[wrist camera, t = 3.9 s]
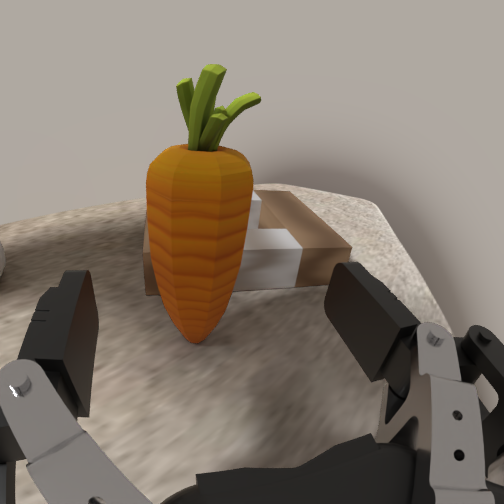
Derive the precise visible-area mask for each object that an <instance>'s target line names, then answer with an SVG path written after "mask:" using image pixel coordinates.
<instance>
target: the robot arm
mask: <svg viewBox="0 0 504 504" xmlns="http://www.w3.org/2000/svg"><path fill="white" fill-rule="evenodd" d="M324 308H325V313H326V315H327V317H328V318H329V320H330V321H331V323H332V324H333V326H334V327H335V329H336V330H337V332H338V333H339V335H340V336H341V338H342V339H343V341H344V342H345V344H346V345H347V346H348V348H349V349H350V351H351V352H352V354H353V355H354V357H355V358H356V360H357V361H358V363H359V364H360V366H361V367H362V369H363V370H364V372H365V374H366V375H367V377H368V378H369V380H370V381H371V382H374V381H377V380H381V379H384V378H385V379H386V381H387V382H386V384H385V385H384V387H383V394H382V403H381V411H380V418H379V425H378V431H377V434H376V437H375V439H374V438H373V436H372V434H371V433H370V434H367V435H364V436H362V437H359V438H356V439H353V440H350V441H347V442H344V443H341V444H338V445H335V446H333V447H332V448H330V449H329V450H327V451H325V452H324V453H322V454H320V455H319V456H317V457H315V458H314V459H312V460H310V461H308V462H307V463H305V464H303V465H301V466H299V467H296V468H239V469H233V470H226V471H219V472H211V473H202V474H196V485H193V486H190V487H187V488H185V489H183V490H181V491H179V492H176V493H175V494H173V495H172V496H170V497H168V498H167V499H165V500H164V501H163V502H162V503H160V504H504V345H503V344H502V343H501V342H500V341H499V339H498V338H497V337H496V336H495V335H494V334H493V333H492V332H491V331H489V330H488V329H486V328H485V327H482V326H478V325H474V326H471V327H470V328H469V330H468V332H467V333H466V335H465V337H464V338H459V337H452V335H451V334H450V333H449V332H448V331H447V330H446V329H445V328H443V327H442V326H440V325H438V324H435V323H430V322H425V323H422V324H421V323H420V321H419V320H418V319H417V318H416V317H415V316H414V315H413V314H412V313H411V312H410V311H409V310H408V309H407V308H406V306H405V305H404V304H403V303H402V302H401V301H400V300H397V297H396V296H395V295H394V294H393V293H391V292H390V290H389V289H388V288H387V287H386V286H385V285H384V284H383V283H382V282H381V281H379V280H378V279H376V278H375V277H373V276H372V275H371V274H370V273H369V272H368V271H367V270H366V269H365V268H364V267H363V266H362V265H361V264H360V263H358V262H342V263H337V264H336V265H335V267H334V269H333V272H332V276H331V279H330V283H329V286H328V290H327V293H326V296H325V301H324ZM98 330H99V319H98V311H97V306H96V301H95V296H94V291H93V285H92V280H91V275H90V272H89V270H70V271H65V272H64V274H63V277H62V279H61V282H60V284H59V287H50V288H49V289H48V290H47V291H46V292H45V293H44V294H43V295H42V296H41V297H40V299H39V302H38V304H37V307H36V309H35V312H34V314H33V316H32V319H31V322H30V324H29V327H28V330H27V332H26V335H25V338H24V341H23V343H22V346H21V349H20V352H19V355H18V358H17V360H15V361H12V362H10V363H8V364H6V365H5V366H4V367H3V368H2V369H1V370H0V504H15V469H16V461H18V460H24V459H27V461H28V464H27V465H26V467H27V470H28V472H29V474H30V476H31V478H32V479H33V481H34V483H35V484H36V486H37V488H38V489H39V491H40V492H41V494H42V495H43V497H44V498H45V500H46V501H47V503H48V504H153V503H152V502H150V501H149V500H148V499H147V498H146V497H145V496H144V495H143V494H142V493H141V492H140V491H139V490H138V489H137V488H136V487H135V486H134V485H133V484H132V483H131V482H130V481H129V480H128V479H127V478H126V477H125V476H124V474H123V473H122V472H121V471H120V470H119V469H118V468H117V467H116V466H115V465H114V463H113V462H112V461H111V460H110V459H109V458H108V457H107V455H106V454H105V453H104V452H103V451H102V450H101V448H100V447H99V446H98V445H97V443H96V442H95V441H94V440H93V439H92V437H91V436H90V435H89V434H88V433H87V432H86V431H84V430H83V429H82V428H81V426H80V425H79V424H78V422H77V417H89V413H90V399H91V387H92V377H93V368H94V359H95V351H96V344H97V337H98ZM481 374H483V375H484V376H485V378H486V379H487V380H488V381H489V383H490V384H491V385H492V386H493V388H494V389H495V391H496V392H497V394H498V398H499V400H498V404H497V406H496V407H495V408H494V410H493V411H492V412H491V413H489V412H488V410H487V409H486V407H485V406H484V405H483V403H482V402H481V400H480V399H479V398H478V394H477V389H476V387H475V385H474V383H475V382H476V380H477V379H478V378H479V376H480V375H481ZM485 476H486V479H485Z"/></svg>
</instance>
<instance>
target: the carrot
mask: <svg viewBox="0 0 504 504" xmlns="http://www.w3.org/2000/svg"><path fill="white" fill-rule="evenodd" d="M226 70H227V69H225V68H224V67H223V66H221V65H217V64H210V65H206V66H205V67H204V68H203V70H202V72H201V75H200V77H199V80H198V82H197V85H196V88H195V91H194V87H193V82H192V78H188V79H187V78H186V79H182V80H181V81H180V82H179V83H178V84H177V86H176V87H177V94H178V99H179V102H180V106H181V110H182V113H183V116H184V119H185V122H186V125H187V127H188V131H189V139H188V144H183V145H176V146H171V147H169V148H167V149H165V150H164V151H163V152H162V153H161V154H160V155H158V157H157V158H156V159H155V160H154V161H153V162H152V163H151V164H150V166H149V169H148V172H147V180H146V194H147V195H146V198H147V222H148V234H149V245H150V254H151V261H152V265H153V269H154V273H155V277H156V281H157V285H158V288H159V292H160V295H161V298H162V301H163V304H164V307H165V309H166V310H167V312H168V314H169V316H170V318H171V319H172V321H173V323H174V324H175V326H176V327H177V328H178V330H179V331H180V332H181V333H182V335H183V336H184V337H185V338H186V339H187V340H188V341H189V342H191V343H199V342H201V341H203V340H204V339H205V338H206V337H207V336H208V335H209V334H210V333H211V331H212V330H213V329H214V328H215V327H216V325H217V324H218V322H219V320H220V319H221V317H222V315H223V314H224V312H225V310H226V308H227V305H228V302H229V299H230V297H231V294H232V291H233V288H234V285H235V282H236V279H237V275H238V272H239V269H240V266H241V261H242V255H243V250H244V244H245V238H246V233H247V227H248V220H249V214H250V207H251V200H252V194H253V175H252V170H251V167H250V164H249V162H248V160H247V159H246V157H245V156H244V155H243V154H241V153H240V152H238V151H237V150H233V149H230V148H226V147H222V146H219V143H220V140H221V138H222V136H223V134H224V132H225V130H226V129H227V127H228V126H229V124H230V123H231V122H232V121H233V120H234V119H235V118H236V117H237V116H238V115H239V114H240V113H242V112H243V111H244V110H245V109H248V108H250V107H252V106H254V105H257V104H259V103H260V102H261V97H260V96H259V95H258V94H256V93H254V92H252V93H248V94H245V95H243V96H241V97H239V98H236V99H235V100H234V101H233V102H232V103H231V104H230V105H229V106H228V107H227V108H226V109H225V108H224V107H223V106H220V107H217V108H215V110H214V107H215V100H216V95H217V93H218V90H219V88H220V85H221V83H222V80H223V78H224V75H225V73H226Z"/></svg>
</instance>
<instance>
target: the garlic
mask: <svg viewBox="0 0 504 504" xmlns="http://www.w3.org/2000/svg"><path fill="white" fill-rule="evenodd" d="M5 265H6V257H5V252H4V248H3V246H2V244H1V242H0V277H1V275H2V273H3V269H4V267H5Z"/></svg>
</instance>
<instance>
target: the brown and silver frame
mask: <svg viewBox="0 0 504 504" xmlns="http://www.w3.org/2000/svg"><path fill="white" fill-rule="evenodd" d="M351 250H352V247H351V246H350V245H349V244H348V243H347V242H346V241H345V240H344V239H343V238H342V237H341V236H339V235H338V234H337V233H336V232H335V231H334V230H333V229H332V228H331V227H330V226H328V225H327V224H326V223H325V222H324V221H323V220H322V219H321V218H319V217H318V216H317V215H316V214H315V213H314V212H313V211H312V210H310V209H309V208H308V207H307V206H306V205H305V204H304V203H302V202H301V201H300V200H299V199H298V198H297V197H295V196H294V195H293V194H292V193H291V192H290V191H268V190H253V194H252V200H251V207H250V214H249V220H248V227H247V233H246V238H245V244H244V250H243V255H242V261H241V266H240V269H239V272H238V275H237V279H236V282H235V285H234V288H233V291H246V290H262V289H277V288H291V287H304V286H316V285H328V284H329V283H330V279H331V276H332V272H333V269H334V267H335V265H336V264H337V263H342V262H348V260H349V257H350V253H351ZM143 264H144V278H145V291H146V295H160V292H159V288H158V285H157V281H156V277H155V273H154V269H153V265H152V261H151V254H150V245H149V234H148V222H147V210H146V220H145V231H144V243H143Z"/></svg>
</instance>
